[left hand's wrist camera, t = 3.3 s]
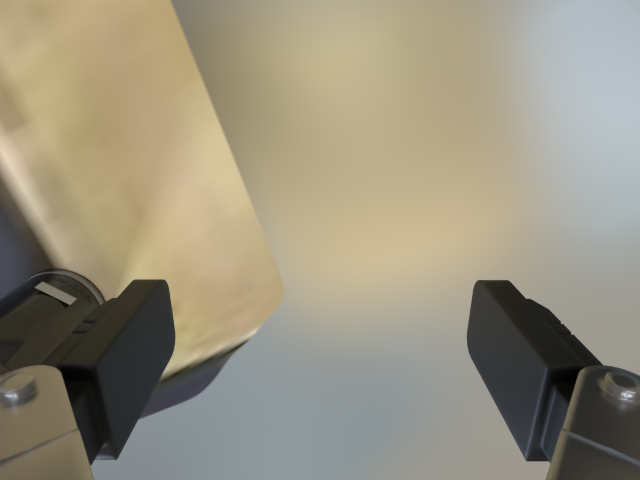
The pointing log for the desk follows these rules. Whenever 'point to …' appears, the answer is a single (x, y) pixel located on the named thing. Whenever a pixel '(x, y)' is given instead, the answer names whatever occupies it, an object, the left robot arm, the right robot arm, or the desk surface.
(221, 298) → the desk surface
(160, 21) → the desk surface
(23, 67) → the desk surface
